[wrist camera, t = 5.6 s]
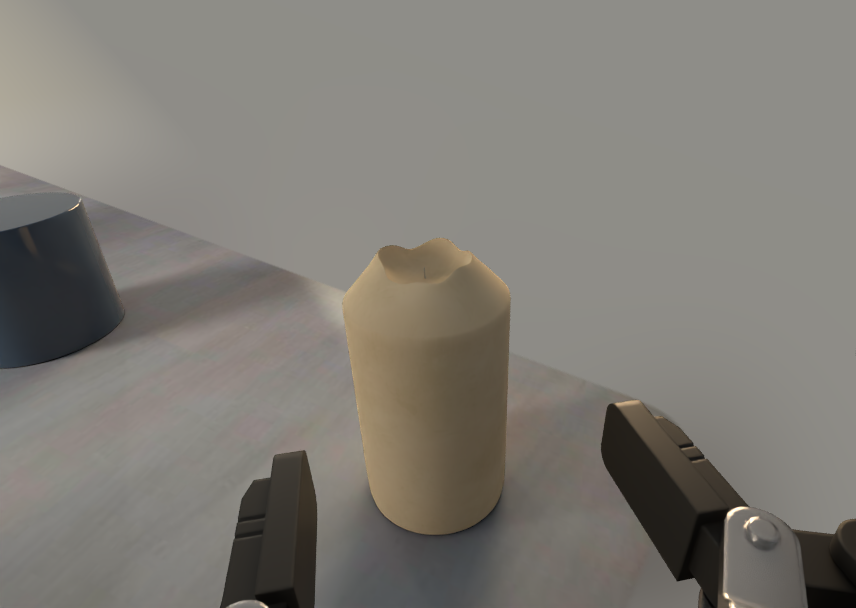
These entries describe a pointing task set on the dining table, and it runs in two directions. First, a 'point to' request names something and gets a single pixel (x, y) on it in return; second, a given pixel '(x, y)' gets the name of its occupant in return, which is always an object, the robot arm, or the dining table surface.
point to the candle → (431, 383)
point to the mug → (51, 280)
